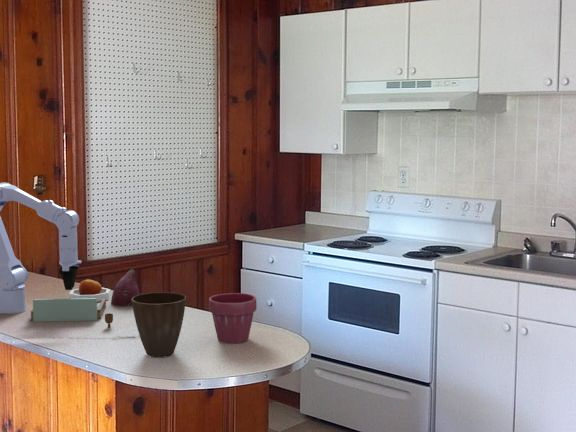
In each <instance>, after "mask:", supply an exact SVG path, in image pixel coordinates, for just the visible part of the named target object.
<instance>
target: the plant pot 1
mask: <svg viewBox="0 0 576 432" xmlns="http://www.w3.org/2000/svg"><path fill="white" fill-rule="evenodd" d="M186 300H187V296H186V295H185V294H182V293H177V292H169V291H167V292H166V291H165V292H164V291H161V292H146V293H142V294H140V295H137V296H134V297H133V298H132V305H133V306H132V311H133V316H134V320H135V324H136V329H137V331H138V335H139V338H140V341H141V343H142V346H143V348H144V351H145V353H146V356H148V357H150V356H151V357H152V358H165V357H164V356H167V357H170V356H172V355H174V352H175V351H176V348H177V346H178V345H177V344H178V342H179V341H178V340H179V338H180V335H181V330H182V325H183V321H184V316H185V310H186V309H185V308H186Z"/></svg>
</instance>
